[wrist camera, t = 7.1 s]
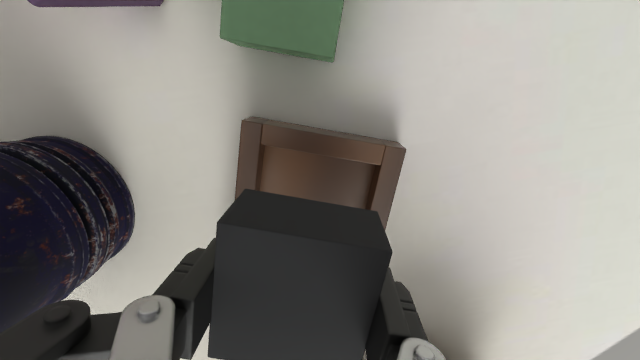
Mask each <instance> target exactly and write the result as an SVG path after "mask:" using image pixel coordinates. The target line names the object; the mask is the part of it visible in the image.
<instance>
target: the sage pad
mask: <svg viewBox="0 0 640 360" xmlns="http://www.w3.org/2000/svg"><path fill="white" fill-rule="evenodd" d="M343 4H344V0H222V8H221V25H220V38H222V39H224V40H227V41H229V42H231V43H234V44H236V45H239V46H243V47H249V48H254V49H260V50H265V51H271V52H276V53H282V54H288V55H293V56H299V57H304V58H310V59H315V60H321V61H327V62H334V56H335V50H336V44H337V39H338V33H339V27H340V21H341V15H342V9H343Z"/></svg>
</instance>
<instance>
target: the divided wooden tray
mask: <svg viewBox="0 0 640 360" xmlns="http://www.w3.org/2000/svg"><path fill="white" fill-rule="evenodd" d="M405 153H406V149H405V148H404V147H403V146H402V145H401V144H400V143H398V142H394V141H388V140H383V139H377V138H371V137H366V136H360V135H354V134H349V133H343V132H337V131H332V130H326V129H320V128H315V127H309V126H303V125H298V124H292V123H286V122H281V121H275V120H269V119H264V118H258V117H249V118H247V119H244V120H242V123H241V134H240V146H239V157H238V169H237V180H236V192H235V200H236V199H237V198H238V196H239V195H240V194H241V193H242V192H243V190H244V189H251V190H257V191H263V192H269V193H274V194H280V195H286V196H292V197H298V198H303V199H309V200H315V201H321V202H327V203H332V204H338V205H344V206H350V207H355V208H361V209H367V210H373V211H377V212H378V214H379V217H380V219H381V222H382V225H383V228H384V230H385V228H386V224H387V221H388V217H389V213H390V209H391V206H392V202H393V198H394V194H395V190H396V187H397V183H398V179H399V175H400V172H401V168H402V164H403V160H404V156H405Z"/></svg>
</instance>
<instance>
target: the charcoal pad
mask: <svg viewBox="0 0 640 360" xmlns="http://www.w3.org/2000/svg"><path fill="white" fill-rule="evenodd" d="M391 256H392V249H391V247H390V244H389V241H388V238H387V236H386V233H385V230H384V228H383V225H382V222H381V219H380V217H379V214H378V212H377V211H373V210H367V209H361V208H355V207H350V206H344V205H338V204H332V203H327V202H321V201H315V200H309V199H303V198H298V197H292V196H286V195H280V194H274V193H269V192H263V191H257V190H251V189H244V190H243V192H242V193H241V194H240V195H239V196H238V198H237V199H236V200H235V201H234V203H233V204H232V205H231V206H230V207H229V209H228V210H227V211H226V212H225V213H224V215H223V216H222V217H221V218H220V219H219V221H218V222H217V232H216V246H215V260H214V268H215V269H214V283H213V297H212V311H211V321H210V331H209V345H208V357H211V358H217V359H223V360H362V359H363V355H364V352H365V348H366V347H365V346H366V342H367V339H368V335H369V332H370V328H371V325H372V321H373V317H374V314H375V310H376V307H377V303H378V300H379V296H380V295H381V291H382V288H383V284H384V281H385V277H386V273H387V270H388V266H389V263H390V259H391Z"/></svg>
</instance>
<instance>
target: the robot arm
mask: <svg viewBox="0 0 640 360" xmlns="http://www.w3.org/2000/svg"><path fill="white" fill-rule="evenodd" d="M215 246H216V238H214V239H213V240H212V241H211V243H210V244H209V245H208V247H207V248H206V249H202V248H197V249H195V250H194V251H192V252H190V253H188V254H187V255H186V256H185V257H184V258H183V259H182V261H181V262H180V264H178V265H177V266H176V268H175V269H174V271H172V272H171V274H170V275H169V276H168V277H167V278H166V279H165V281H164V282H163V283H162V284H161V285H160V287H159V288H158V289H157V290H156V291H155V292H154V294H153V295H151V296H146V297H142V298H139V299H137V300H135V301H133V302H132V303H130V304H129V305H128V306H127V307H126V308H125V309H124V310H123V312H119V313H109V314H97V315H91V314H90V307H89V306H88V304H86V303H85V302H83V301H79V300H65V301H59V302H55V303H52V304H49V305H47V306H45V307H42V308H40V309H39V310H37V311H35V312H34V313H32V314H30V315H29V316H27V317H26V318H24V319H22V320H21V321H19V322H17V323H16V324H14V325H13V326H11V327H9V328H8V329H6V330H5V331H3V332H1V333H0V360H179V359H180V358H183V359H189V360H191V359H192V357H193V355H194V353H195V351H196V349H197V347H198V345H199V343H200V341H201V339H202V337H203V335H204V333H205V331H206V329H207V327H208V325H209V323H210V321H211V311H212V297H213V283H214V269H215V268H214V260H215ZM365 347H366V355H367V360H446V359H445V357H444V355H443V354H442V353H441V351H440V350H439V349H438V348H437V347H435V346H434V345H433V344H431V343H430V342H428V339H427V337H426V334H425V332H424V329H423V326H422V324H421V321H420V318H419V316H418V313H417V312H416V308H415V305H414V304H413V300H412V297H411V294H410V292H409V291H408V290H407V289H406V287H405V286H404V285H403V284H402V283H401V282H395V281H394V279H393V276H392V273H391V270H390V268H388V270H387V273H386V277H385V281H384V284H383V288H382V291H381V295H380V296H379V300H378V303H377V307H376V310H375V314H374V317H373V321H372V325H371V328H370V332H369V335H368V339H367V342H366V346H365Z"/></svg>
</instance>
